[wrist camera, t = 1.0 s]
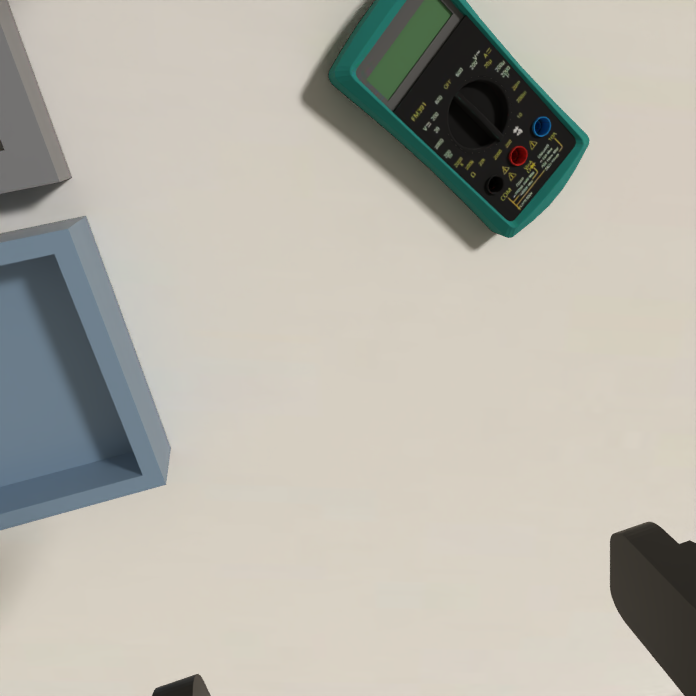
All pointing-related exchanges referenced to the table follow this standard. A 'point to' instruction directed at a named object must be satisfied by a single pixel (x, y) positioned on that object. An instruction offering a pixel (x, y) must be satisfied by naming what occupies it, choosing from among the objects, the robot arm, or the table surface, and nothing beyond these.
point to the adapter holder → (24, 118)
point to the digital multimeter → (461, 107)
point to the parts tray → (68, 381)
